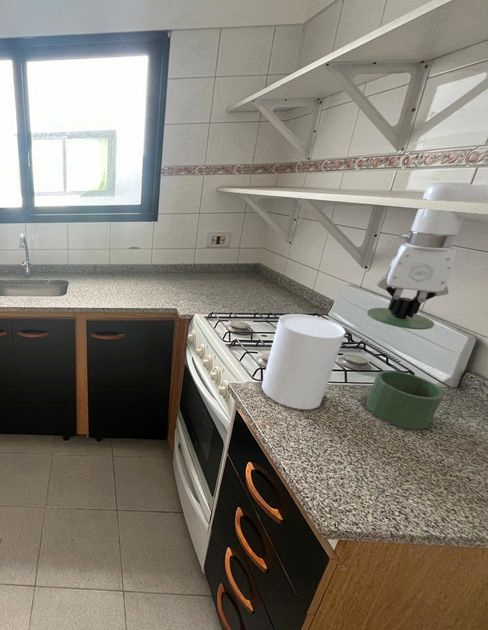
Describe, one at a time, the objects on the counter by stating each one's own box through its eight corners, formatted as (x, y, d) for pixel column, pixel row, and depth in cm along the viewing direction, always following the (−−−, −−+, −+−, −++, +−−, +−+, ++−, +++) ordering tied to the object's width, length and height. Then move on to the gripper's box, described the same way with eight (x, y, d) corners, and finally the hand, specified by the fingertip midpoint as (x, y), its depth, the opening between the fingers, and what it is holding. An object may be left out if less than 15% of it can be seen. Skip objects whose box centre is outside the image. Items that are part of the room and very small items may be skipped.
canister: (251, 379, 97) (267, 315, 89) (296, 376, 98) (316, 312, 90) (283, 411, 85) (304, 339, 77) (334, 407, 86) (360, 336, 78)
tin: (421, 408, 85) (435, 379, 82) (434, 436, 77) (451, 405, 73) (363, 393, 91) (374, 365, 88) (369, 418, 82) (381, 388, 79)
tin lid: (425, 317, 88) (434, 295, 86) (439, 336, 79) (450, 312, 76) (363, 308, 94) (370, 288, 92) (369, 324, 85) (377, 302, 83)
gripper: (386, 240, 80) (361, 313, 87) (487, 247, 72) (450, 326, 79) (381, 234, 86) (358, 303, 93) (474, 240, 77) (441, 315, 85)
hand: (400, 313), depth 86 cm, fingers closed on tin lid, 2 cm apart
